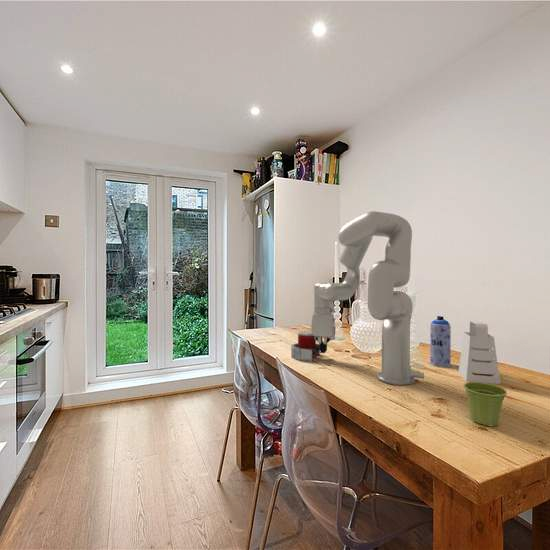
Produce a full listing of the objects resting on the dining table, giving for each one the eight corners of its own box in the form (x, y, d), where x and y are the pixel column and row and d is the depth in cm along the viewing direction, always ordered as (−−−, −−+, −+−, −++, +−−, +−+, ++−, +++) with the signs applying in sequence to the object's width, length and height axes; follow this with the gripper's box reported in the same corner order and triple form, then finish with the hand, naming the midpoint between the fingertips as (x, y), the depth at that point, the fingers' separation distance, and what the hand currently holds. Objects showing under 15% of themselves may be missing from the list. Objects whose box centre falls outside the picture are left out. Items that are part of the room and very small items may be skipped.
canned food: (315, 359, 146) (315, 334, 145) (297, 358, 147) (297, 334, 147) (316, 355, 153) (316, 331, 153) (299, 354, 155) (299, 330, 154)
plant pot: (489, 413, 91) (489, 381, 91) (515, 429, 81) (516, 394, 81) (456, 413, 90) (456, 382, 90) (478, 430, 81) (478, 395, 81)
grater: (489, 374, 124) (489, 321, 123) (500, 384, 114) (500, 325, 113) (458, 372, 126) (458, 320, 126) (466, 381, 116) (466, 324, 116)
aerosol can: (426, 364, 137) (426, 316, 137) (435, 360, 142) (435, 314, 142) (445, 368, 131) (445, 318, 131) (454, 364, 136) (454, 316, 136)
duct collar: (320, 354, 154) (320, 343, 154) (311, 361, 142) (311, 350, 142) (297, 352, 159) (297, 341, 159) (286, 358, 147) (286, 347, 147)
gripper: (341, 310, 147) (342, 352, 147) (309, 309, 153) (309, 349, 153) (337, 312, 140) (337, 356, 140) (304, 311, 146) (304, 352, 146)
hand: (323, 352), depth 147 cm, fingers closed
